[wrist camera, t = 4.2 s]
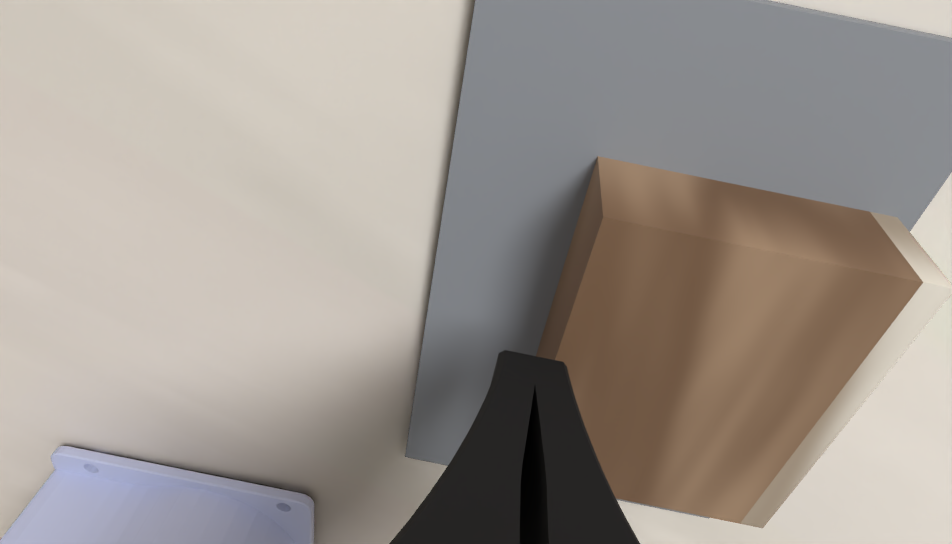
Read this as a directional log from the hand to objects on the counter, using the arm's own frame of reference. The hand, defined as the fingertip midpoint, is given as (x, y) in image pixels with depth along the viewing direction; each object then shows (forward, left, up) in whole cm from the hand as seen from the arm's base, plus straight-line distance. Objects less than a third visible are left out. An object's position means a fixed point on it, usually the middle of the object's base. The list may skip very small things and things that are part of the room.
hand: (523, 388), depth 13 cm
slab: (+1, 0, -2) cm, 2 cm away
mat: (+2, 0, -4) cm, 4 cm away
